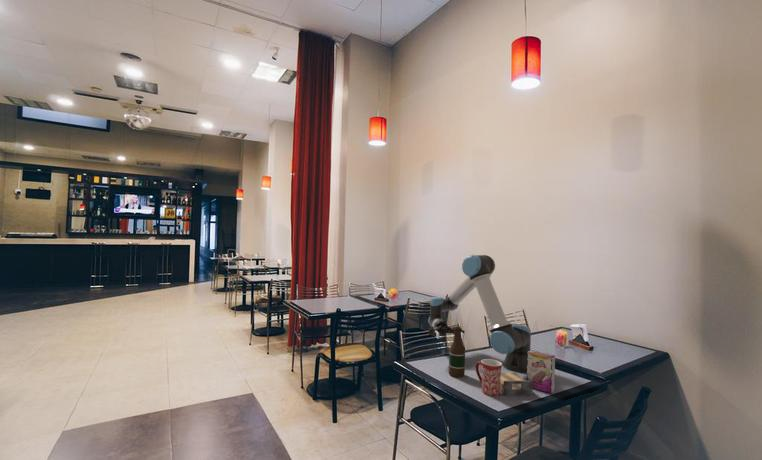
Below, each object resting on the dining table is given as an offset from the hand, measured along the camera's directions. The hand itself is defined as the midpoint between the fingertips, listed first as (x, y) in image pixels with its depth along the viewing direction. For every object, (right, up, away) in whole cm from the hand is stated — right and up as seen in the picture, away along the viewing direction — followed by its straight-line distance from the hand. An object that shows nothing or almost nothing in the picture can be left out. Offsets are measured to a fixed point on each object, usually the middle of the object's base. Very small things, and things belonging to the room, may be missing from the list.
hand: (451, 336), depth 188 cm
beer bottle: (+1, -16, -11) cm, 20 cm away
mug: (+11, -16, -29) cm, 35 cm away
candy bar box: (+36, -17, -25) cm, 47 cm away
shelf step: (+22, -16, -24) cm, 37 cm away
